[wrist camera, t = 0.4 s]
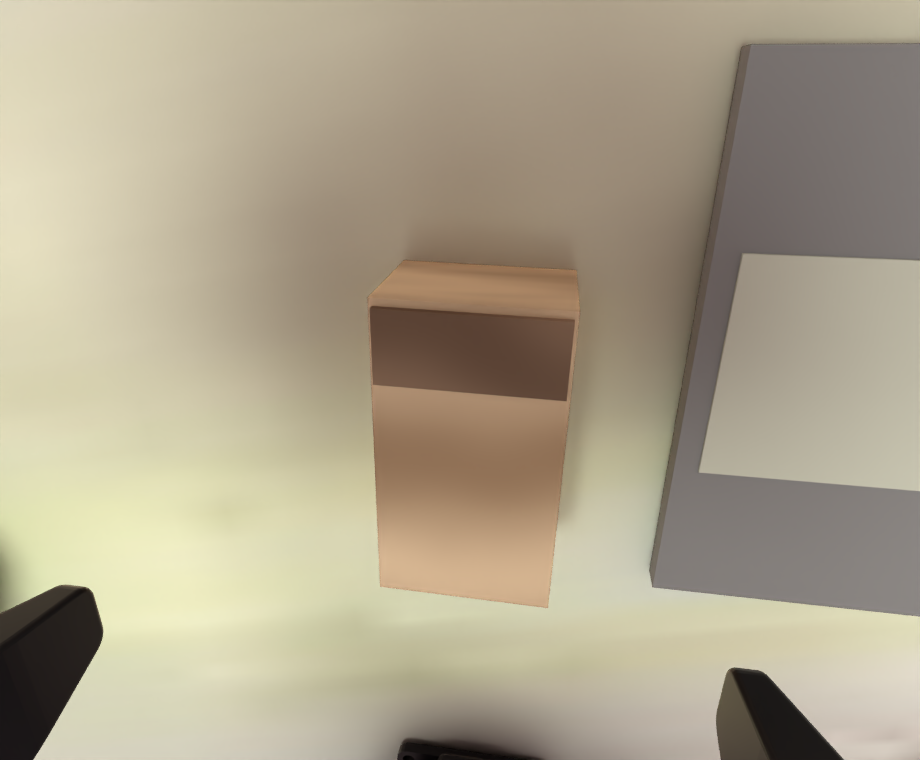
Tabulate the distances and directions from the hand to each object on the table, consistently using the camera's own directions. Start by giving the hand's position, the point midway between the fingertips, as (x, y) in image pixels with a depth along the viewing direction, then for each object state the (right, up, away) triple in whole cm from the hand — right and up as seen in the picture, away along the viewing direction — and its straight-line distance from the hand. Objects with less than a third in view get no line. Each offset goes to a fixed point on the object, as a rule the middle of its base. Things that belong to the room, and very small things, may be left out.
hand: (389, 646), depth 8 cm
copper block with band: (+2, +3, +11) cm, 12 cm away
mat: (+14, +4, +9) cm, 16 cm away
